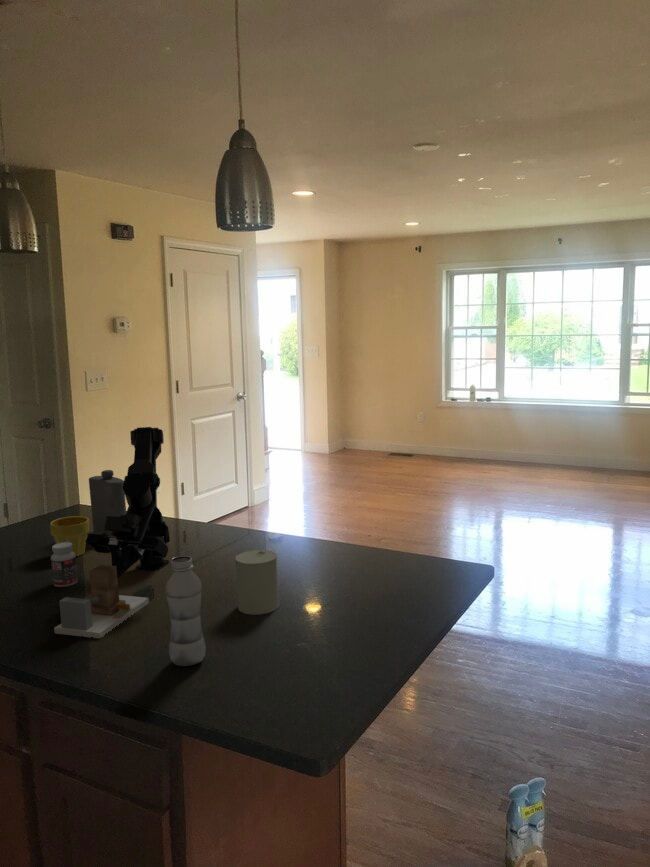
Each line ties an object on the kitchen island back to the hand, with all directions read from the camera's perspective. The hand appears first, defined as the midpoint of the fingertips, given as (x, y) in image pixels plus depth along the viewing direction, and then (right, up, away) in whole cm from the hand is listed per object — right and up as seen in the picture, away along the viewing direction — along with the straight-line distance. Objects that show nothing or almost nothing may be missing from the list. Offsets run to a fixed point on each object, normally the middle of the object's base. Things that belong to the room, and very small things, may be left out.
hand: (114, 579), depth 151 cm
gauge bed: (-1, -8, -4) cm, 8 cm away
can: (+32, -6, 0) cm, 33 cm away
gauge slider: (0, -6, -4) cm, 7 cm away
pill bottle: (-18, -5, +18) cm, 25 cm away
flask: (-19, +1, +58) cm, 61 cm away
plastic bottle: (+22, -10, -25) cm, 35 cm away
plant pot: (-24, -2, +40) cm, 47 cm away
